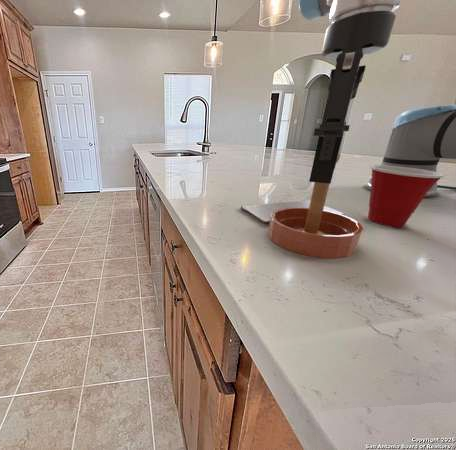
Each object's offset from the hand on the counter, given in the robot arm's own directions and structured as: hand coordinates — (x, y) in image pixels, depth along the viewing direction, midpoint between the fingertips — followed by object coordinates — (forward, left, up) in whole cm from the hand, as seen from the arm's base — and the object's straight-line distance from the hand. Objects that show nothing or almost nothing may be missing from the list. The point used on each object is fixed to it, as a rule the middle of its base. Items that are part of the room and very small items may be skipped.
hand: (323, 174), depth 41 cm
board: (-6, -14, -13) cm, 20 cm away
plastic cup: (-22, -4, -13) cm, 26 cm away
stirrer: (0, 0, -12) cm, 12 cm away
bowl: (0, 0, -13) cm, 13 cm away
